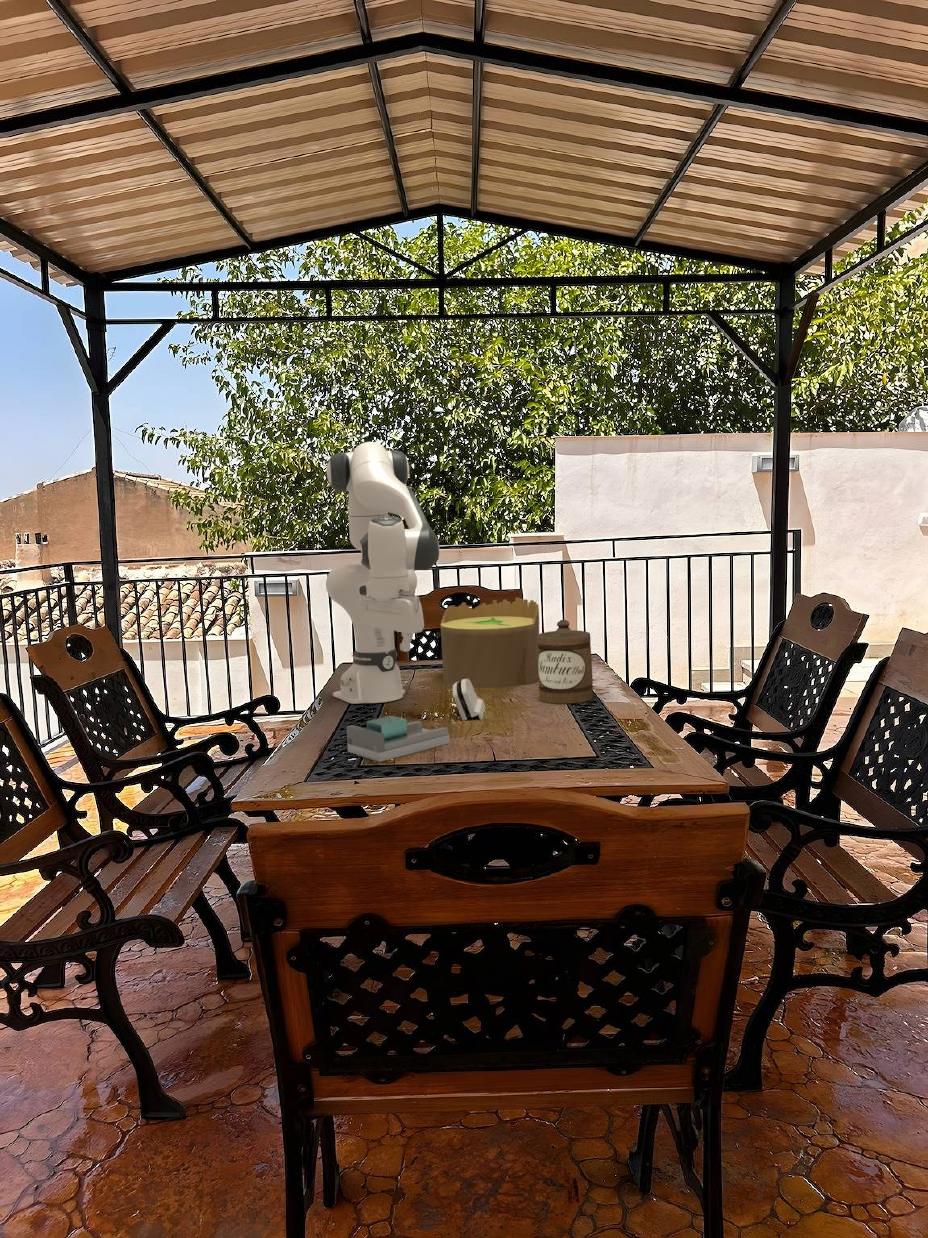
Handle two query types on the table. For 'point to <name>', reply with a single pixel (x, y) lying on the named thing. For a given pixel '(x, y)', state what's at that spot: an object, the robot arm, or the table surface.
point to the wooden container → (565, 665)
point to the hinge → (467, 700)
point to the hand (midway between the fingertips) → (392, 648)
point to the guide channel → (394, 741)
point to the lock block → (389, 727)
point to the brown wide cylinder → (491, 644)
